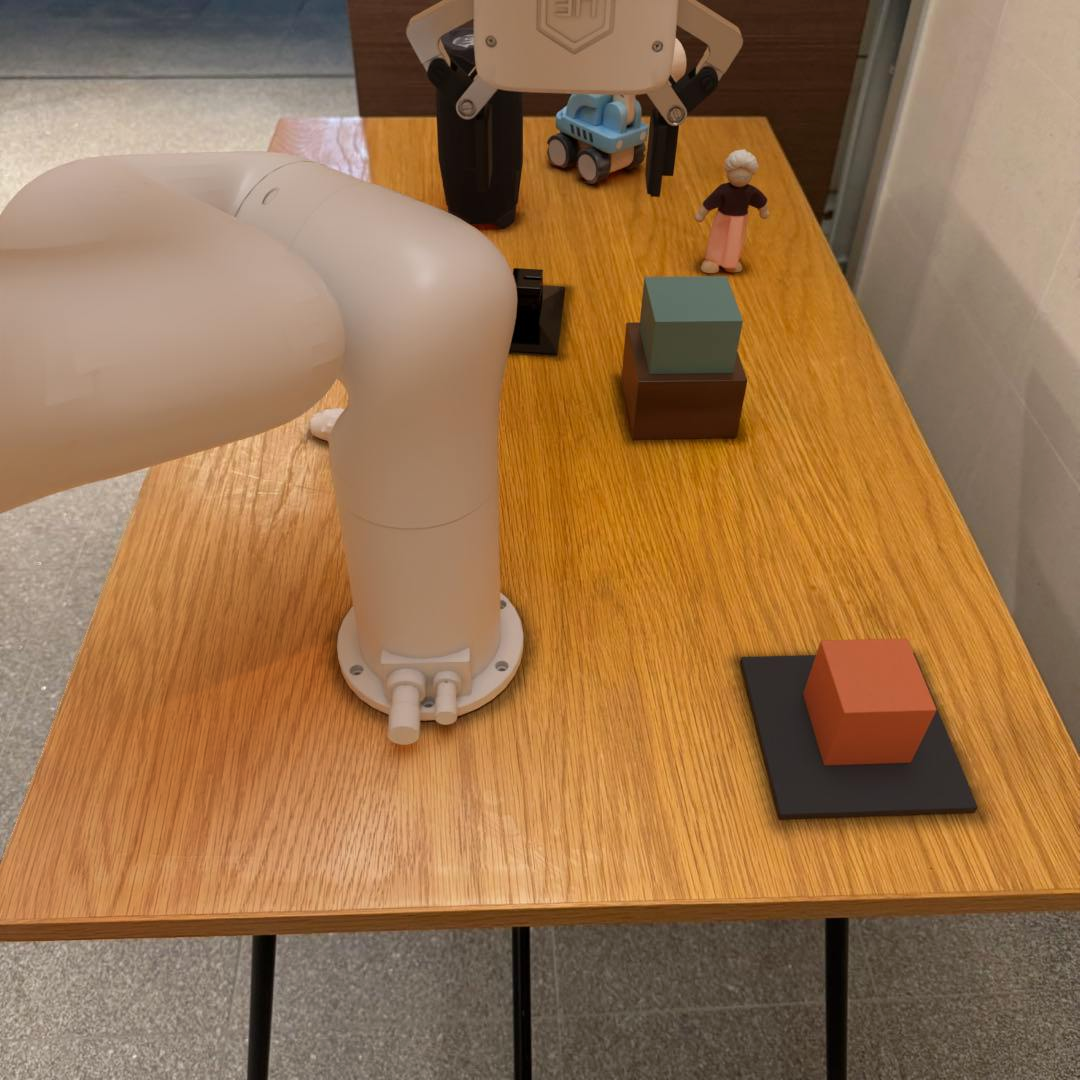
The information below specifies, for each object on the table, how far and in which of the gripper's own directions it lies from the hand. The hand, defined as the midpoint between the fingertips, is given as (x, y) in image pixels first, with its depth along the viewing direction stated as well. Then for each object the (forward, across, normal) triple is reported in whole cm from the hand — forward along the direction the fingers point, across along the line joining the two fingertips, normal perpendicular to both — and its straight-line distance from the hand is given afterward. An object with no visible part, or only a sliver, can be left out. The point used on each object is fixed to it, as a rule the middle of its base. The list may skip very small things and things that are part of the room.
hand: (568, 183), depth 57 cm
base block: (+28, +11, +17) cm, 35 cm away
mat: (+28, +19, -17) cm, 38 cm away
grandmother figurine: (+28, +18, +43) cm, 54 cm away
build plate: (+28, -3, +31) cm, 42 cm away
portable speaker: (+28, -9, +53) cm, 61 cm away
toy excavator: (+28, +6, +65) cm, 71 cm away
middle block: (+22, +11, +17) cm, 30 cm away
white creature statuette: (+28, -15, +13) cm, 35 cm away
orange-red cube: (+27, +20, -17) cm, 38 cm away
